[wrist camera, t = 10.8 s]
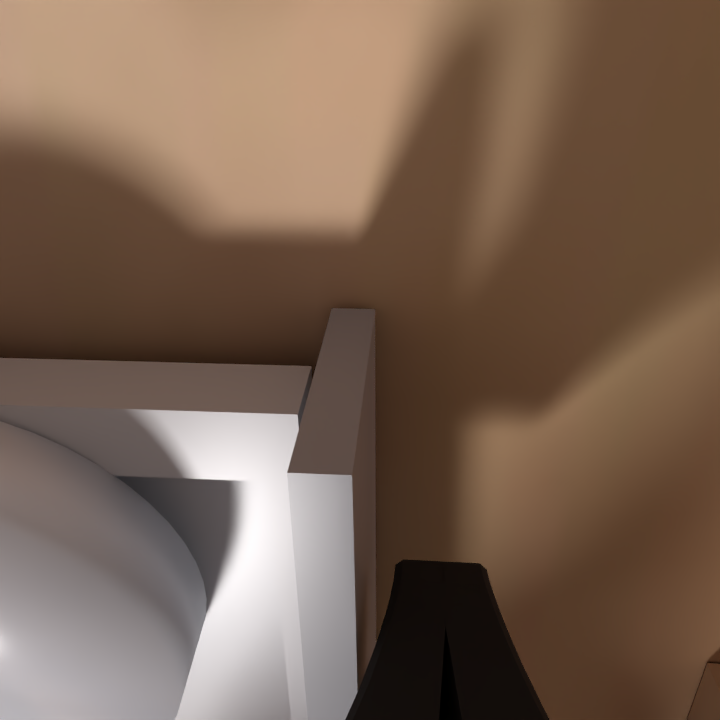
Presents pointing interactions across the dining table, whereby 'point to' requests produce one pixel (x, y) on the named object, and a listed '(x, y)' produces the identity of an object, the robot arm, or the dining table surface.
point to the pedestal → (707, 695)
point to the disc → (89, 592)
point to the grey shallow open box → (244, 504)
